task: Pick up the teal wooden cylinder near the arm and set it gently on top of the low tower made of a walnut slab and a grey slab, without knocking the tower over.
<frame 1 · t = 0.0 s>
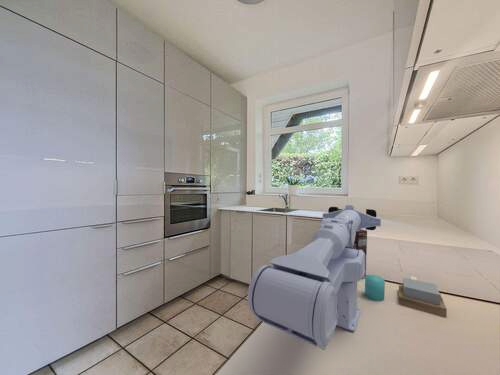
hand: (355, 213, 65), 22 cm above the countertop, tool horizontal, fingers open, 7 cm apart
cylinder: (374, 296, 57), on the countertop
tower top: (419, 294, 55), point 2 cm above the countertop, touching tower base
tower base: (419, 304, 55), on the countertop, touching tower top
supplement box: (350, 275, 72), on the countertop
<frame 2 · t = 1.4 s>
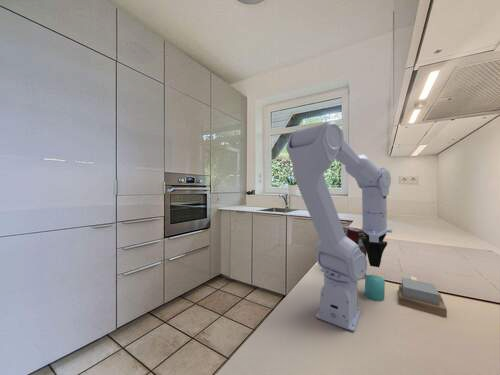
hand: (374, 261, 58), 10 cm above the countertop, tool pointing down, fingers open, 7 cm apart
nothing on the countertop moved.
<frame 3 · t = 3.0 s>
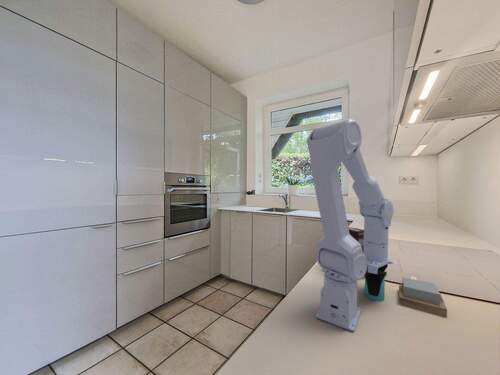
hand: (374, 291, 57), 1 cm above the countertop, tool pointing down, fingers closed on cylinder, 5 cm apart
cylinder: (374, 296, 57), on the countertop, touching gripper
everything else where it was.
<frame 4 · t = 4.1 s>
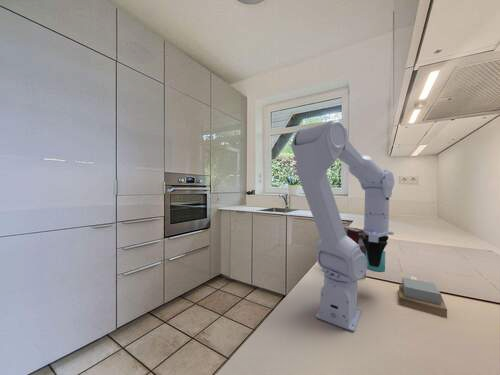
hand: (375, 263, 57), 9 cm above the countertop, tool pointing down, fingers closed on cylinder, 5 cm apart
cylinder: (374, 268, 57), point 8 cm above the countertop, touching gripper
everything else where it was.
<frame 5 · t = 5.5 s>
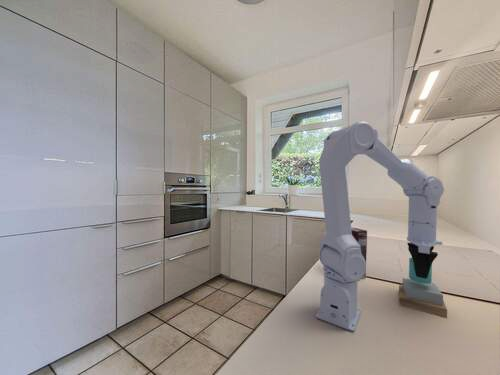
hand: (420, 274, 55), 7 cm above the countertop, tool pointing down, fingers closed on cylinder, 4 cm apart
cylinder: (419, 279, 55), point 6 cm above the countertop, touching gripper
everything else where it was.
when the fingers open (7 cm above the countertop, at t = 5.8 s): cylinder drops 2 cm, point 4 cm above the countertop.
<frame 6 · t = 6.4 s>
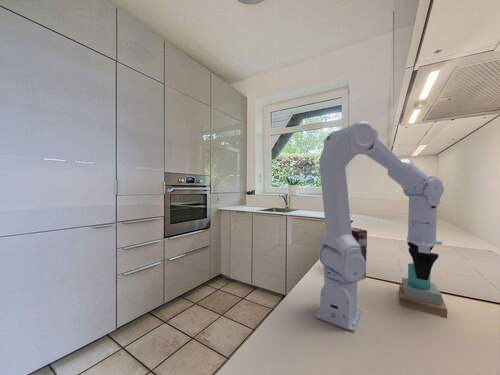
hand: (420, 274, 55), 7 cm above the countertop, tool pointing down, fingers open, 7 cm apart
cylinder: (418, 285, 55), point 4 cm above the countertop
everything else where it was.
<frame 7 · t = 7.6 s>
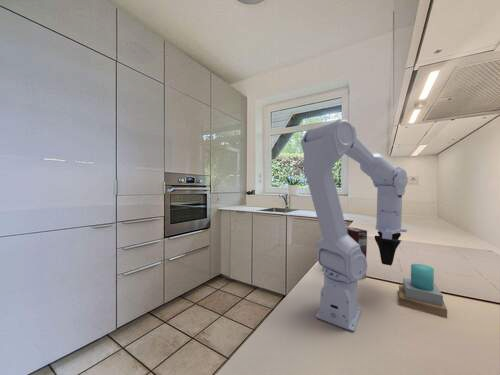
hand: (387, 260, 58), 10 cm above the countertop, tool pointing down, fingers open, 7 cm apart
cylinder: (421, 286, 55), point 4 cm above the countertop, touching tower top
tower top: (421, 295, 55), point 2 cm above the countertop, touching cylinder, tower base
everything else where it was.
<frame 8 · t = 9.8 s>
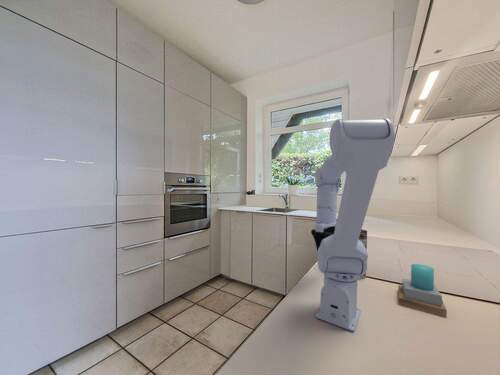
hand: (325, 251, 64), 10 cm above the countertop, tool pointing down, fingers open, 7 cm apart
nothing on the countertop moved.
at the end: cylinder 0.4 cm off-centre on the tower top, point 2.5 cm above the tower top's base; tower top 0.2 cm from the tower base (horizontally); cylinder tilted 0° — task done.
